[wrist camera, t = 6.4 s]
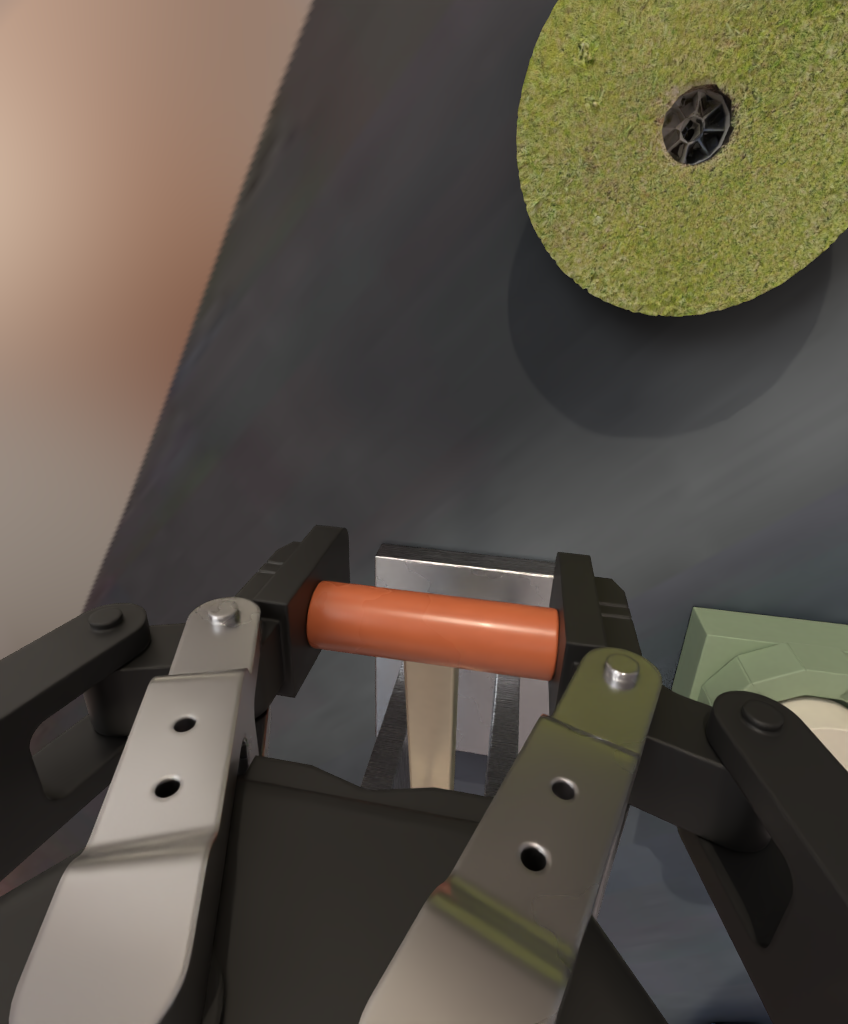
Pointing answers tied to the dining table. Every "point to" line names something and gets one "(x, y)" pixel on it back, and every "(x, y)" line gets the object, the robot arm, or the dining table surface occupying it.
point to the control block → (762, 657)
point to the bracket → (481, 696)
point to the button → (824, 722)
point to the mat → (686, 146)
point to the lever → (434, 653)
